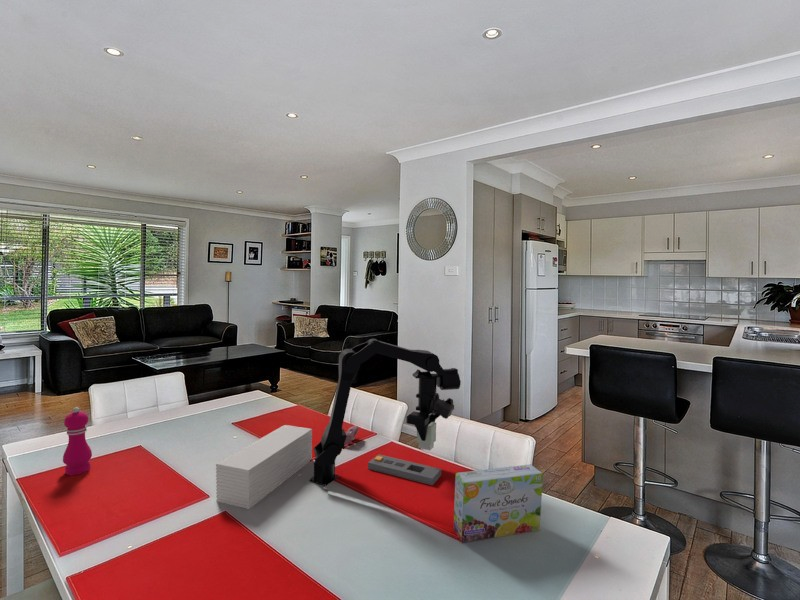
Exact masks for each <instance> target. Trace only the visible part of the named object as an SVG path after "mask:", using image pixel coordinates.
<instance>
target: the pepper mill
mask: <svg viewBox="0 0 800 600" xmlns="http://www.w3.org/2000/svg"><path fill="white" fill-rule="evenodd" d="M88 423H89V416H88V414H87V413H86V412H84V411H81V410H80V408H79V407H78V406H76V407H73V408H72V412H70V413H69V414H68V415H66V416H65V417H64V421H63V424H64V427H66V435H68V442H67V446H66V449H65V450H64V453H63V456H62V463H63V464H64V465H65V467H64V470H65V471H64V472H65V473H64V474H66V475H67V476H75V475H80V474H84V473H86V472H89V470H90V469H91V462H90V460H91V458H92V457H93V452H92V449H91V446H90V445H89V444H88V443H87V440H86V432H87V431H88V429H87V428H88V427H87V424H88Z"/></svg>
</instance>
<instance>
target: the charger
mask: <svg viewBox="0 0 800 600" xmlns="http://www.w3.org/2000/svg"><path fill="white" fill-rule="evenodd" d="M436 441H437V422H436V421H435V422H431V423H430V424H429V425H428V428H427V434H426V440H425V441H422V440H421V437H420V435H419V433H418V431H417V430H416V443H418V449H422V450H426V451H431V450H432V449H433V448H434V446H435V444H434V443H435V442H436Z"/></svg>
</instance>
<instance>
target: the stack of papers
mask: <svg viewBox="0 0 800 600" xmlns="http://www.w3.org/2000/svg"><path fill="white" fill-rule="evenodd" d="M312 440H313V429H312V428H309V427H300V426H295V425H289V424H284V425H282V426H280V427H279V428H276V429H274V430H273V431H271V432H269V433H268V434H266V435H264V436H262V437H261V438H259V439H257V440H256V441H253V442H252V443H250V444H248V445H246V446H245V447H243V448H241V449H240V450H238V451H236V452H234V453H232V454H231V455H229V456H227V457H226V458H223V459H222V460H220V461H218V462H216V463H215V473H216V475H215V477H216V478H215V481H216V482H215V484H216V485H215V489H216V492H215V494H216V497H215V499H216V502H217V503H222V504H225V505H226V504H227V505H230V506H235V507H238V508H243V509H247V510H250V509H251V508H252V507H254V506H255V505H256V504H257V503H259V502H260V501H261V500H262V499H264V498H265V497H267V495H269V494H270V493H271V492H272V491H274V490H275V489H276V488H278V487H279V486H280V485H281V484H283V483H284V482H285V481H287V480H288V479H289V478H291V477H292V476H293V475H294V474H295V473H297V472H298V471H299V470H301V469H302V468H303V467H305V466H306V465H307V464H308V463H310V462H311V461H312V460H313V441H312ZM311 459H312V460H311ZM310 460H311V461H310Z"/></svg>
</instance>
